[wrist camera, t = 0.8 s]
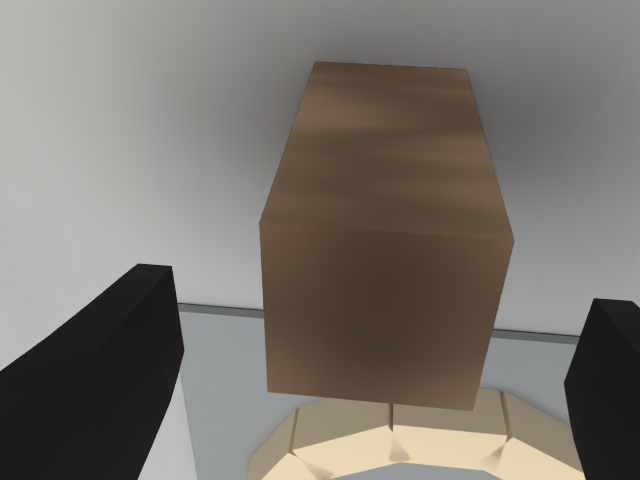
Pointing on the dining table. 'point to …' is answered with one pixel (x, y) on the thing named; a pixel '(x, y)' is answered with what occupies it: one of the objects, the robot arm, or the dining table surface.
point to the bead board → (258, 411)
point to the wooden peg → (383, 240)
